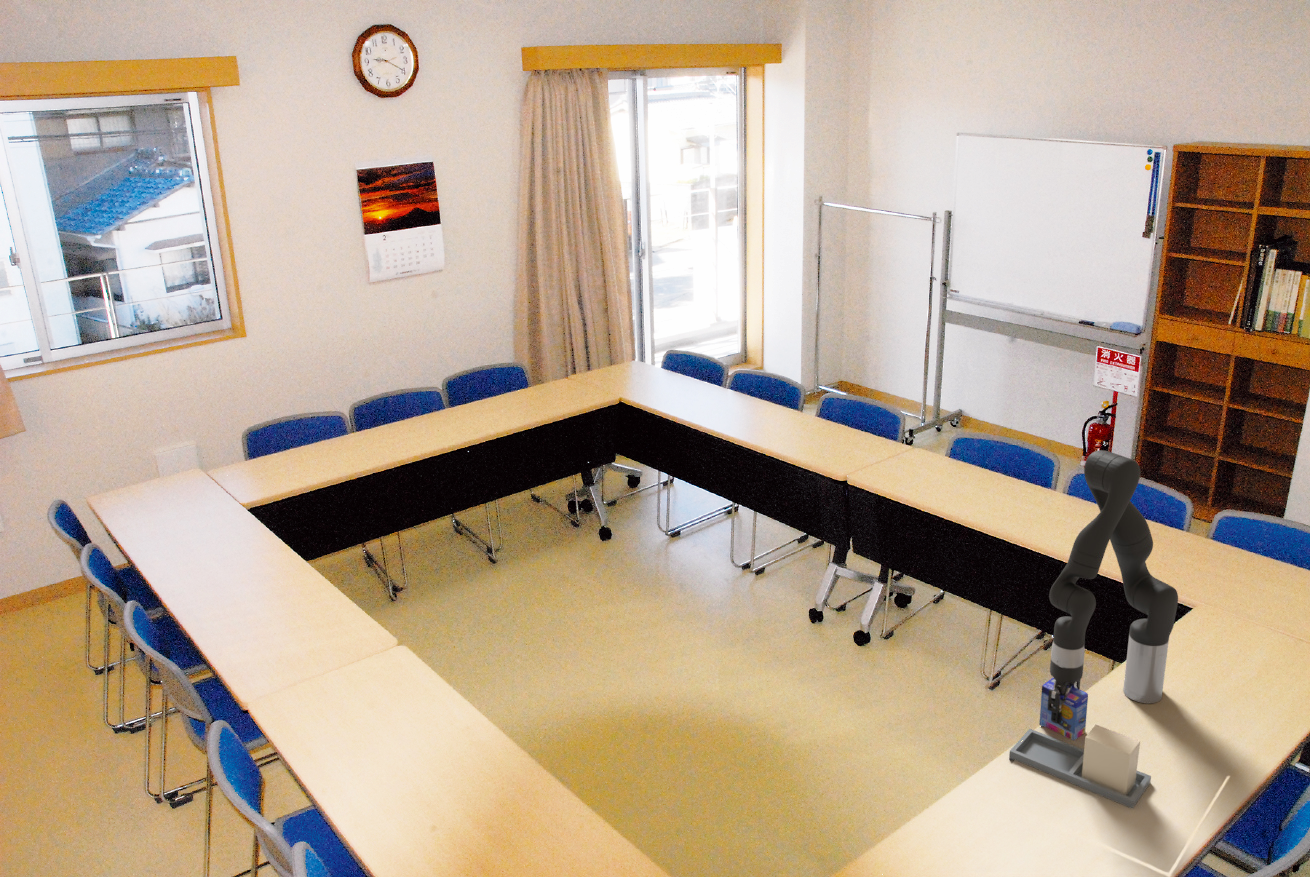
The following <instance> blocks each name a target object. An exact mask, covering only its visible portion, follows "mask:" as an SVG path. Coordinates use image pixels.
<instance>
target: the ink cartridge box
mask: <svg viewBox="0 0 1310 877" xmlns="http://www.w3.org/2000/svg"><path fill="white" fill-rule="evenodd" d="M1055 681H1056V680H1055V679H1054V677H1051V678H1050V679H1048V681H1047V682H1045V683H1043V684H1042V685H1041V694H1040V695H1041V696H1040V711H1039V712H1040V713H1039V726H1041V727H1043V726H1044V727H1046V728H1048V729H1050V730H1051V731H1053V732H1055V733H1058V734H1059V735H1061V736H1064V737H1065V738H1067V739H1070V740H1071V741H1076V740H1077V739H1078V738H1080V737H1082V736H1083V735H1084V734H1085V733H1086V727H1087V715H1088V714H1087V712H1088V700H1089V694H1088V692H1085V691H1083V690H1082V689H1077V688H1072V689H1071V692H1070V693H1069V695H1068V696H1067V698H1066V703H1065V704H1064V705H1063V708H1062V715H1061V723H1060V724H1056V723H1054V722H1052V721H1051V714H1052V711H1049V710H1047V709H1048V695H1049V690H1050V689H1051V690H1054V683H1055ZM1067 687H1068V688H1069V686H1067ZM1060 696H1061V695H1060ZM1064 696H1065V695H1064ZM1064 696H1061V698H1060V699H1064ZM1044 727H1043V728H1044Z"/></svg>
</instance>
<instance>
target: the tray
mask: <svg viewBox="0 0 1310 877" xmlns="http://www.w3.org/2000/svg"><path fill="white" fill-rule="evenodd" d="M1022 740H1023V741H1022ZM1021 741H1022V742H1021ZM1008 755H1009V757H1008V758H1009V761H1012V762H1015V761H1017V762H1019V763H1021V764H1024V765H1027V766H1029V767H1031V768H1033V769H1036V770H1038V771H1041V772H1043V773H1046V774H1048V775H1050V776H1053V777H1055V778H1058V779H1060V780H1062V781H1065V782H1067V783H1070V784H1072V785H1074V786H1076V787H1080V788H1081V789H1084V790H1087V791H1088V792H1091V793H1093V794H1096V795H1099V796H1100V797H1104V798H1106V799H1108V800H1111V801H1112V802H1115V803H1118V804H1121V805H1123V806H1124V807H1127V808H1130V809H1131V810H1132V809H1134V807H1135V806H1136V804H1137V803H1138V802H1139V800H1140V799H1141V797H1142V796H1143V795H1144V793H1145V791H1146V790H1147V788H1148V787H1149V786H1150V785H1151V781H1152V780H1151V779H1152V776H1151V775H1149V774H1147V773H1144V772H1141V771H1139V770H1137V772H1136V781H1135V785H1134V786H1133V788H1132V789H1131V791H1130V792H1129V793H1128V795H1127V796H1126V795H1123V794H1121V793H1118V792H1116V791H1113V790H1111V789H1109V788H1106V787H1104V786H1101V785H1099V784H1096V783H1094V782H1091V781H1089V780H1087V779H1084V778H1082V768H1083V757H1084V749H1083V748H1081V747H1078V746H1075V745H1073V744H1070V743H1068V742H1066V741H1063V740H1060V739H1057V738H1054V737H1053V736H1050V735H1047V734H1046V733H1043V732H1040V731H1038V730H1034V729H1032V728H1029V729H1028V730H1027V731H1026V732H1025V733H1024V735H1023V736H1021V738H1020V739H1019V740H1017V742H1016V743H1015V744H1014V745H1013V747H1012V748H1011V749H1010V750H1009V754H1008Z"/></svg>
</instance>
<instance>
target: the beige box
mask: <svg viewBox="0 0 1310 877" xmlns="http://www.w3.org/2000/svg"><path fill="white" fill-rule="evenodd" d="M1140 744H1141V740H1139V739H1135V738H1133V737H1130V736H1129V735H1128V736H1127V735H1125V734H1123V733H1120V732H1117V731H1115V730H1112V729H1109V728H1107V727H1104V726H1102V725H1098V724H1095V725H1094V726H1093V727H1092V728H1091V729H1090V731H1089V732H1088V733H1087V735H1085V738H1084V749H1083V750H1084V757H1083V768H1082V778H1084V779H1087V780H1089V781H1091V782H1094V783H1096V784H1099V785H1101V786H1104V787H1106V788H1109V789H1111V790H1113V791H1116V792H1118V793H1121V794H1123V795H1126V796H1127V795H1128V793H1129V792H1130V791H1131V789H1132V788H1133V786H1134V785H1135V781H1136V772H1137V771H1138V762H1139V753H1140Z"/></svg>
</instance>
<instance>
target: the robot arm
mask: <svg viewBox="0 0 1310 877" xmlns="http://www.w3.org/2000/svg"><path fill="white" fill-rule="evenodd" d="M1083 467H1084V469H1083V472H1084V479H1085V480H1084V481H1086V484H1087V486H1088V488H1089V490H1090V493H1091V495H1092V496H1093V498H1094V500H1095V502H1096V505H1097V507H1098V509H1099V513H1098V514H1097V516H1096V517H1094V518H1093V519H1092V520H1091V521H1090V522H1089V523H1088V524H1087V525H1086V526H1085V527H1083V528H1082V529H1081V531H1080V532H1079V533H1078V535H1077V536H1076V539H1074V542H1073V545H1072V549H1071V551H1070V554H1069V558H1068V560H1067V563H1066V565H1065V567H1064V568H1063V569H1062V571H1061V572H1060V574H1059V576H1058V577H1057V578H1056V580H1055V581H1054V583H1053V584H1052V585H1051V588H1050V590H1049V597H1048V598H1049V601H1050V604H1051V605H1052V606H1053V607H1055V608H1057V609H1058V610H1061V611H1062V612H1064V613H1066V614H1068V615H1069V616H1068V615H1067V616H1061V617H1058V618H1057V619H1056V621H1055V623H1054V625H1053V626H1054V627H1053V638H1052V640H1053V641H1052V644H1051V650H1050V664H1049V673H1050V675H1051V677H1052V678H1054V679H1055V680H1056V681H1055V683H1054V690H1051V689H1050V690H1049V695H1048V709H1047V710H1049V711H1052V714H1051V721H1052V722H1054V723H1056V724H1060V723H1061V715H1062V708H1063V705H1064V704H1065V703H1066V698H1067V696H1068V695H1069V693H1070V692H1071V689H1072V688H1077V689H1080V688H1081V680H1082V678H1083V674H1084V664H1085V663H1084V662H1085V642H1086V641H1085V640H1086V631H1087V628H1088V626H1089V623H1090V620H1091V618H1092V616H1093V615H1094V611H1095V610H1096V606H1097V602H1096V597H1095V595H1094V594H1093V592H1092V591H1091V590H1088V589H1086V588H1084V587H1081V586H1079V585H1077V584H1076V583H1077V581H1078V580H1079V579H1081V578H1082V579H1085V580H1093V579H1095V578H1096V577H1097V576H1098V573H1099V570H1100V568H1101V565H1102V562H1103V559H1104V556H1105V553H1106V549H1107V547H1108V545H1109V542H1110V544H1111V547H1112V550H1113V551H1114V554H1115V557H1116V560H1117V564H1118V567H1119V571H1120V573H1121V579H1122V585H1123V590H1124V594H1125V598H1126V601H1127V603H1128V604H1129V605H1130V606H1131V607H1132V608H1134V609H1136V610H1137V611H1139V612H1141V613H1142V614H1145V616H1147V618H1139V619H1136V620H1134V621H1132V623H1131V624H1130V625H1129V631H1128V632H1129V633H1128V643H1127V652H1126V653H1127V654H1126V663H1125V669H1124V670H1125V671H1124V672H1125V673H1124V680H1123V694H1124V695H1125V696H1126V697H1127V698H1129V699H1130V700H1132V701H1135V702H1138V703H1141V704H1142V703H1143V704H1155V703H1158V702H1160V701H1161V700H1162V697H1163V691H1164V690H1163V689H1164V681H1165V675H1166V674H1165V672H1166V666H1167V657H1168V650H1169V649H1168V648H1169V641H1170V635H1171V633H1172V631H1173V629H1174V625H1175V619H1176V614H1177V610H1178V605H1179V594H1178V591H1177V590H1176V588H1175V587H1174V586H1172V585H1170V584H1167V582H1164V581H1162V580H1160V579H1158V578H1156V577H1155V576H1153V575H1152V574H1151V573H1150V571H1149V569H1148V566H1147V562H1146V561H1147V560H1148V558H1149V557H1150V555H1151V553H1152V551H1153V548H1154V541H1153V540H1154V539H1153V536H1152V534H1151V530H1150V526H1149V525H1148V524H1149V523H1148V522H1147V520H1146V518H1145V516H1144V515H1143V514H1142V513H1141V512H1140V510H1139V509H1138V508H1137V507H1136V506H1135V504H1134V503H1132V502H1131V499H1132V497H1133V496H1134V494H1135V492H1136V490H1137V487H1138V485H1139V483H1140V478H1141V467H1140V465H1139V463H1138V462H1137V461H1136V460H1134V459H1131V458H1129V457H1126V456H1123V455H1120V454H1117V453H1114V452H1111V451H1108V450H1102V449H1101V450H1096V451H1093V452H1091V454H1090V453H1089V455H1088V456H1087V458H1086V460H1085V463H1084V466H1083ZM1067 686H1069V688H1068V687H1067ZM1080 690H1081V689H1080ZM1060 695H1061V696H1064V695H1065V696H1064V699H1060V698H1061V696H1060Z"/></svg>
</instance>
